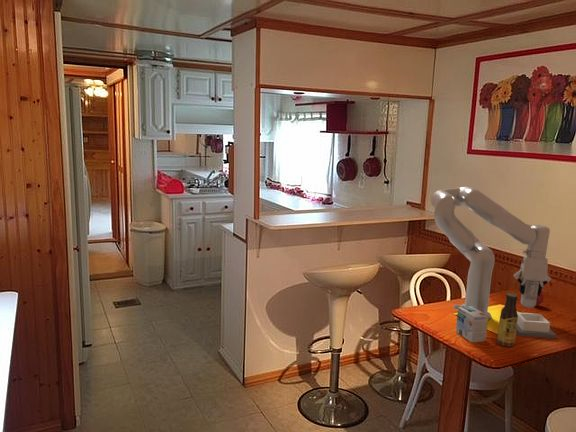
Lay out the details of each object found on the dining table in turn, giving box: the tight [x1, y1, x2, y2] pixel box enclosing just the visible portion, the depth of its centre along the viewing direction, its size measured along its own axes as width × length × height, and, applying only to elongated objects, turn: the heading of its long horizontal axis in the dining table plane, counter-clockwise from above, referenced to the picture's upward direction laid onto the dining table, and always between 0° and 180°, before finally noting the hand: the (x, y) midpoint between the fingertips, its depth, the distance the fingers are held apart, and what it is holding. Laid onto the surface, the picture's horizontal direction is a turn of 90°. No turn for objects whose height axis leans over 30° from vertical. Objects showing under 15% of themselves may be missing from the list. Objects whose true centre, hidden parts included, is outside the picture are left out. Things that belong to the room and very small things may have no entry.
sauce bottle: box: [496, 292, 519, 347], centre depth 192 cm, size 6×6×20 cm
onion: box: [535, 292, 545, 307], centre depth 236 cm, size 6×6×8 cm
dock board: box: [516, 311, 557, 339], centre depth 207 cm, size 14×14×6 cm
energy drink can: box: [520, 278, 540, 309], centre depth 219 cm, size 6×6×15 cm
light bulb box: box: [455, 306, 489, 343], centre depth 199 cm, size 11×7×11 cm, turn 16°
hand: (529, 293), depth 219 cm, fingers closed on energy drink can, 6 cm apart
